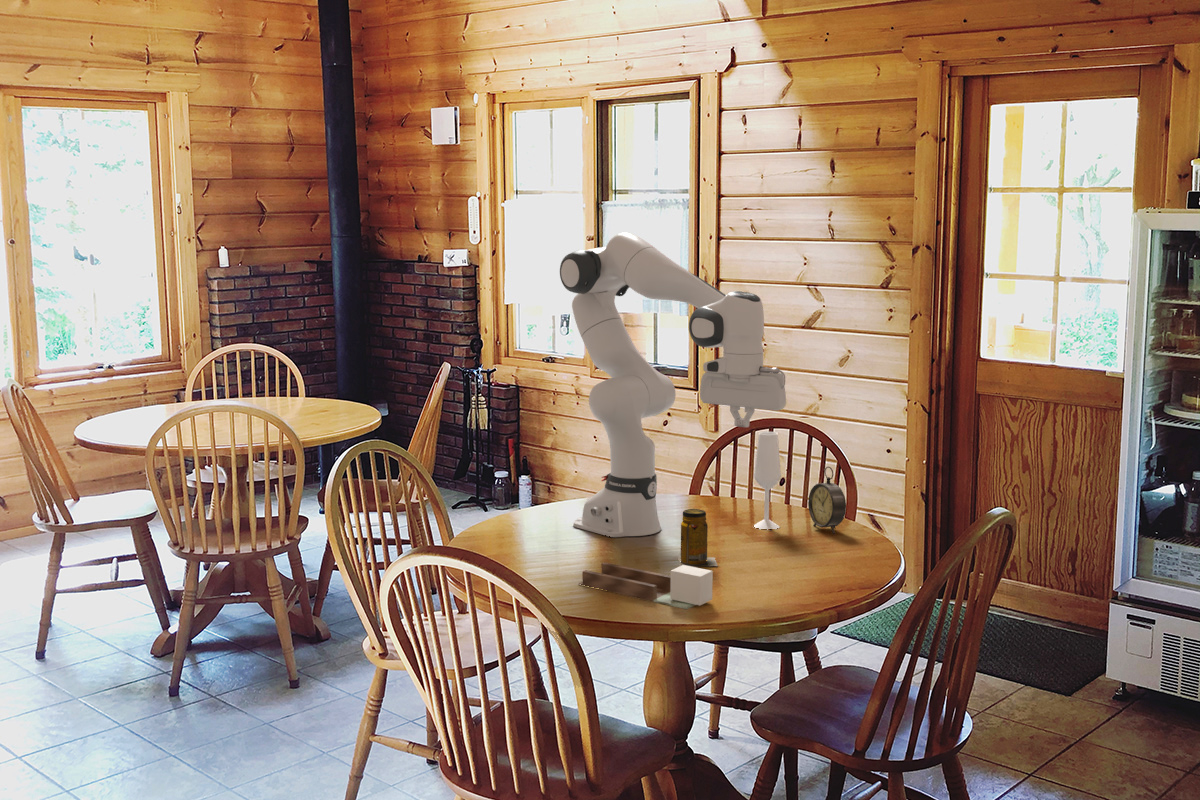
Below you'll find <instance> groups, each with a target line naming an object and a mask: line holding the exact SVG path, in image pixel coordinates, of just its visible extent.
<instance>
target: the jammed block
mask: <svg viewBox="0 0 1200 800" xmlns="http://www.w3.org/2000/svg"><path fill="white" fill-rule="evenodd" d="M670 576H671V586H670V599H672V600H677V601H681V602H686V603H690V604H695V606H702V605H704V604H707V603H708V602H710V601H712V600H713V570H710V569H705V568H700V567H691V566H686V565H682V566H680V565H679V566H677V567H675V568H673V569H672V570H670Z"/></svg>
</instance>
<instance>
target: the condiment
mask: <svg viewBox="0 0 1200 800" xmlns="http://www.w3.org/2000/svg"><path fill="white" fill-rule="evenodd" d="M706 516H707V513H706V511H705V510H703V509H700V508H687V509H685V510H683V511H682V521H681V523H680V556H678V557H677V559H678V563H679V567H680V566H682V565H686V566H691V567H696V568H699V567H718V566H719V565H718V563H717V560H715V559H716V557H711V556H710V557H708V533H709V531H708V530H709V528H708V526H709V525H708V522H707V517H706ZM706 560H707V561H706ZM680 561H681V562H680Z"/></svg>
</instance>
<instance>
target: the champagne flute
mask: <svg viewBox="0 0 1200 800" xmlns="http://www.w3.org/2000/svg"><path fill="white" fill-rule="evenodd" d="M756 446H757V447H756V454H755V465H754V474H753V478H754V480H755V481H756V483H757V484H758V485H759V486H760V487H761V488H762V489H764V505H763V506H764V507H763V508H764V509H763V511H764V515H763V516H764V517H763V519H762V520H760V521H758V522H756V523H755V524H753V525H754V527H755V528H754V527H753V528H754V529H756V528H759V529H758V530H761V529H767V530H766V531H769V530H768V529H775V530H778V529H780V525H779V524H777V523H775V522H774V521H772V520H771V519H770V490H771V489H772V488H774V487H775V486H776V485H777V484H778V483H779V482H780V480H781V477H782V473H781V460H780V458H781V457H780V447H779V446H780V444H779V433H778V432H777V431H776V432H775V431H760V432H758V438H757V445H756ZM777 528H778V529H777Z"/></svg>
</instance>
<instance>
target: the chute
mask: <svg viewBox="0 0 1200 800" xmlns="http://www.w3.org/2000/svg"><path fill="white" fill-rule="evenodd" d="M581 579H582V581H580V582H578V585H579V584H581V585H585V586H589V587H594V588H599V589H603V590H607V591H611V592H610V593H612V592H614V593H613V594H616V593H618V594H617V595H621V594H622V595H621V596H625V595H626V596H627V597H630V598H634V599H638V598H639V600H642V601H643V600H644V601H648V602H653V603H656V604H657V603H658V604H661V605H666V606H670V607H675V608H680V609H684V610H689V609H691V608H693V607H695V606H696V605H695V604H690V603H686V602H681V601H677V600H672V599H670V586H671V575H668V574H664V573H658V572H654V571H649V570H644V569H639V568H634V567H630V566H626V565H625V566H624V565H620V564H615V563H611V562H605V561H604V562H602V563H601V572H597V571H596V572H595V571H592V570H587V569H585V570H583V571H582V578H581ZM585 586H584V587H585ZM589 587H588V588H589ZM594 588H593V589H594ZM603 590H602V591H603ZM607 591H606V592H607Z"/></svg>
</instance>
